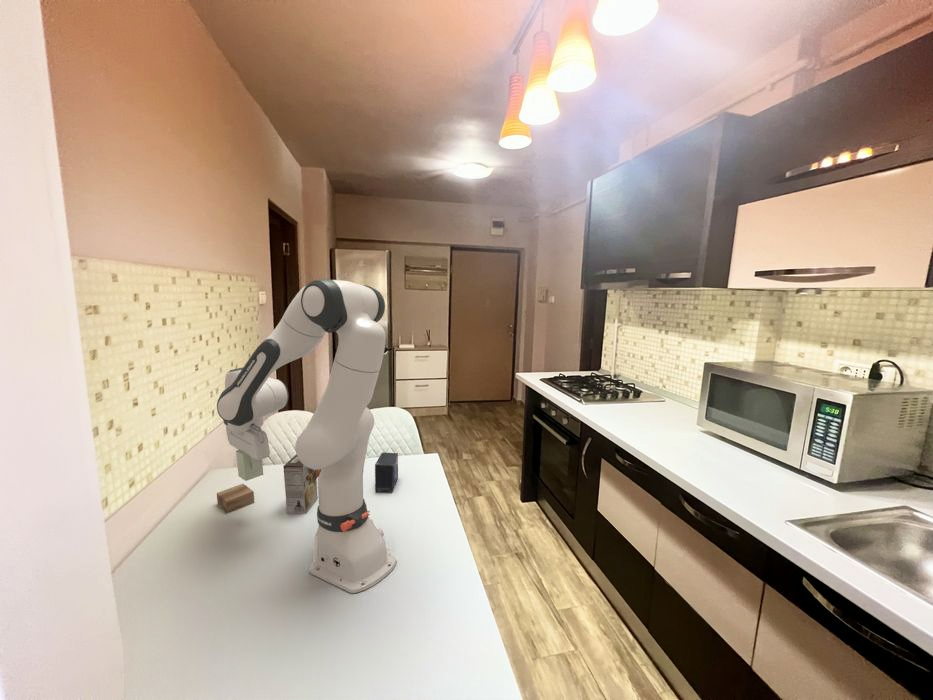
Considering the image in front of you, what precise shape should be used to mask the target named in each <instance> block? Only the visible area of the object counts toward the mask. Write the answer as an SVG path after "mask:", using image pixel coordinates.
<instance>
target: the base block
mask: <svg viewBox="0 0 933 700" xmlns="http://www.w3.org/2000/svg"><path fill="white" fill-rule="evenodd" d="M254 494H255V491H254V490H253V489H251V488H250V487H248V485H246V484H244V483H241V484H238V485H236V486H235V485H234V486H232V487H230V488H227V489H223V490H221V491H218V492H216V502H217V506H219V507H220V508H221V509H222V510H223V511H224V512H225V513H227V514H230V513H232V512H235V511H237V510H240V509H241V508H244V507H247V506H250V505H252V504H254V503H255V495H254Z"/></svg>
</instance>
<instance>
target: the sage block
mask: <svg viewBox="0 0 933 700" xmlns="http://www.w3.org/2000/svg"><path fill="white" fill-rule="evenodd" d="M235 453H236V464H237V473H238V474H237V475H238V477H239V478H241V479H242V480H243V481H245V482H247V481H250V480H252V479H255V478H258V477H260V476H264V466H263V459H261V460H260V461H259V468H258V469H255V470H253V469H252V468H251V465H250V463H251V462H252V459H251V457H250V456H249V455H247V454H245V453H244V452H242V451H240V450H238V449H236V450H235Z"/></svg>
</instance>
